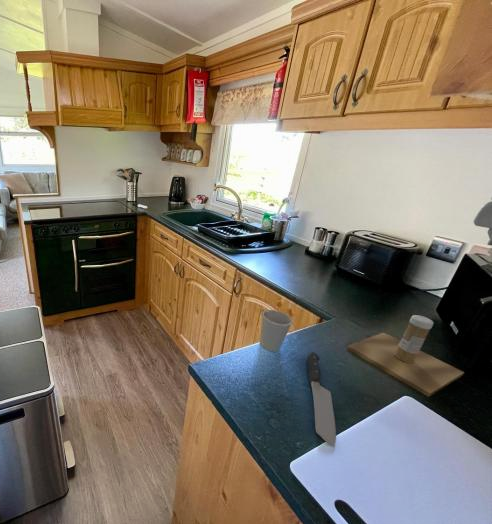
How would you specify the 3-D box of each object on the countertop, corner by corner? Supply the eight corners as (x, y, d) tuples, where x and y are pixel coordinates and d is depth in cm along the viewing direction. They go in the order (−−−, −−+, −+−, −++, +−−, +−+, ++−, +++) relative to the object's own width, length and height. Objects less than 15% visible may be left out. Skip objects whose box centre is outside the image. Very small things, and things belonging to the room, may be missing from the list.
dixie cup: (290, 352, 85) (299, 323, 81) (267, 356, 82) (275, 326, 79) (271, 335, 92) (278, 308, 89) (249, 338, 90) (256, 310, 86)
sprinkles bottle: (391, 351, 87) (409, 312, 82) (410, 356, 85) (430, 317, 80) (396, 360, 83) (415, 320, 78) (416, 365, 81) (437, 325, 76)
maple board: (462, 375, 80) (464, 372, 80) (428, 397, 72) (430, 393, 71) (381, 335, 97) (383, 332, 96) (346, 348, 88) (347, 345, 88)
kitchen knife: (345, 449, 56) (319, 433, 57) (337, 455, 57) (312, 440, 58) (327, 358, 81) (309, 348, 82) (321, 364, 82) (304, 354, 83)
